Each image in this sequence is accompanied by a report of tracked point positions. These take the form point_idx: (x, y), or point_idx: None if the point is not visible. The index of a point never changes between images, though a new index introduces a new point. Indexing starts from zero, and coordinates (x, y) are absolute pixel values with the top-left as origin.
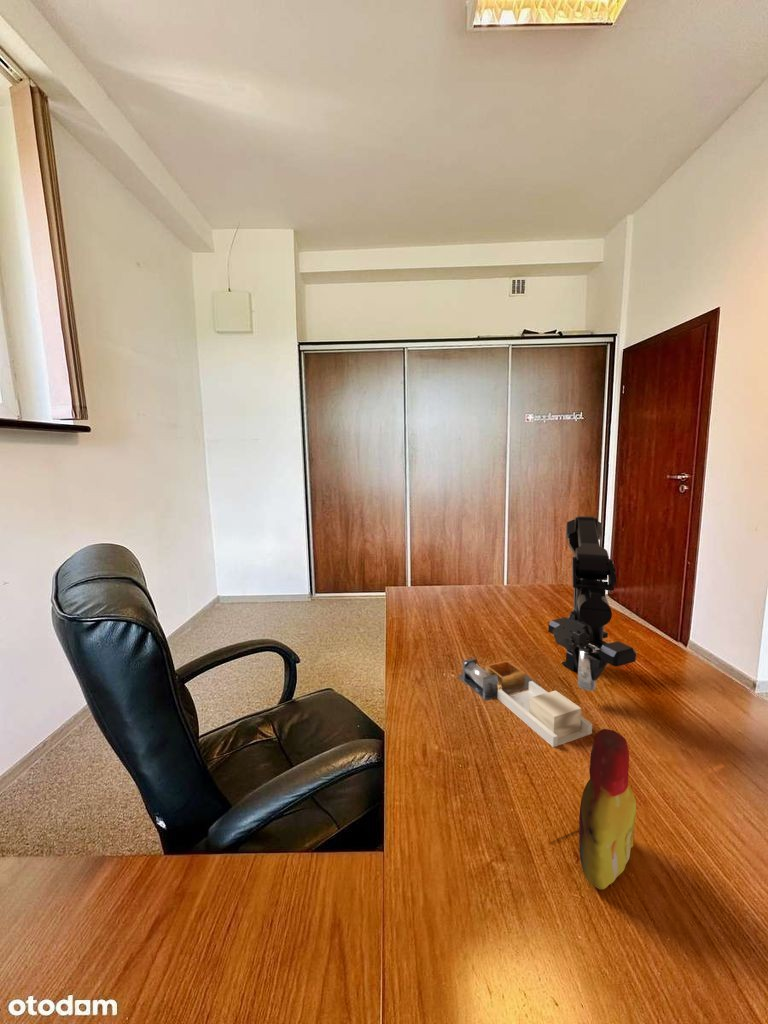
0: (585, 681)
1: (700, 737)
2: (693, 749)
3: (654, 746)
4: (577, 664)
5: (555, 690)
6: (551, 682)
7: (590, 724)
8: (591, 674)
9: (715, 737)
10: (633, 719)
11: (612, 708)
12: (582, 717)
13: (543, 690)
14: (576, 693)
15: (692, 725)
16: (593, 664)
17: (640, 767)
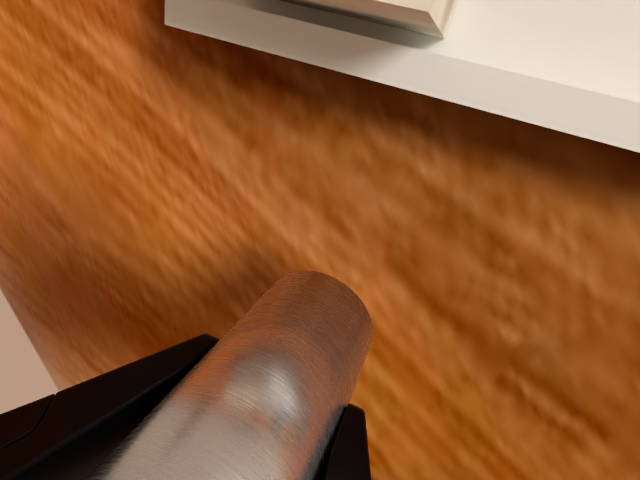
0: (262, 307)
1: (85, 316)
2: (58, 250)
3: (91, 180)
4: (331, 468)
5: (427, 11)
6: (628, 364)
7: (167, 10)
8: (180, 364)
9: (76, 337)
10: (201, 288)
11: None
12: (226, 37)
13: (619, 128)
14: (443, 333)
15: (120, 358)
16: (8, 446)
17: (32, 10)
